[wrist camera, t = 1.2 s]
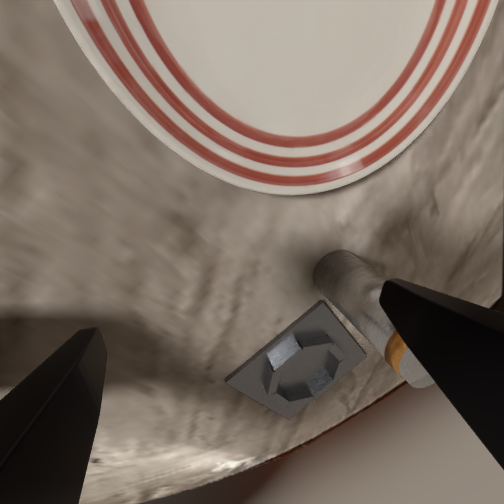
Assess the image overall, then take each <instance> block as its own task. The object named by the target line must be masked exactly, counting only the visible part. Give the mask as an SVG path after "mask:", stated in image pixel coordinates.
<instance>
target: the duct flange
mask: <svg viewBox="0 0 504 504" xmlns="http://www.w3.org/2000/svg"><path fill="white" fill-rule="evenodd" d="M366 357H367V356H366V355H365V353H364V352H363V351H362V350H361V348H360V347H359V346H358V345H357V343H356V342H355V341H354V340H353V339H352V337H351V336H350V335H349V334H348V332H347V331H346V330H345V329H344V327H343V326H342V325H341V324H340V322H339V321H338V320H337V319H336V318H335V316H334V315H333V314H332V313H331V311H330V310H329V309H328V308H327V306H326V305H325V304H324V303H323V302H322V301H321V300H320V301H319V302H318V303H316V304H315V305H314V306H313V307H312V308H310V309H309V310H308V311H307V312H305V313H304V314H303V315H302V316H301V317H299V318H298V319H297V320H296V321H295V322H293V323H292V324H291V325H290V326H289V327H287V328H286V329H285V330H284V331H283V332H281V333H280V334H279V335H278V336H276V337H275V338H274V339H273V340H272V341H270V342H269V343H268V344H267V345H266V346H264V347H263V348H262V349H261V350H260V351H258V352H257V353H256V354H255V355H253V356H252V357H251V358H250V359H249V360H247V361H246V362H245V363H244V364H243V365H241V366H240V367H239V368H238V369H237V370H235V371H234V372H233V373H232V374H231V375H229V376H228V377H227V378H226V379H225V383H226V384H228V385H230V386H231V387H233V388H235V389H236V390H238V391H240V392H242V393H243V394H245V395H247V396H248V397H250V398H252V399H254V400H255V401H257V402H259V403H260V404H262V405H264V406H266V407H267V408H269V409H271V410H272V411H274V412H276V413H278V414H279V415H281V416H283V417H284V418H286V419H288V420H289V419H290V418H292V417H293V416H294V415H295V414H297V413H298V412H299V411H300V410H302V409H303V408H304V407H305V406H307V405H308V404H309V403H310V402H313V400H316V399H317V398H319V397H320V396H321V395H322V394H324V393H325V392H326V391H327V390H329V389H330V388H331V387H332V386H333V385H335V384H336V383H337V381H339V379H340V378H342V377H343V376H344V375H345V374H346V373H348V372H349V371H350V370H351V369H353V368H354V367H355V366H356V365H358V364H359V363H360V362H361V361H363V360H364V359H365V358H366Z"/></svg>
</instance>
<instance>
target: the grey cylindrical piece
mask: <svg viewBox="0 0 504 504" xmlns="http://www.w3.org/2000/svg"><path fill="white" fill-rule="evenodd" d="M313 280H314V284H315V286H316V287H317V288H318V289H319V290H320V291H321V292H322V293H323V294H324V295H325V296H326V297H327V298H328V299H329V301H330V302H331V303H332V304H333V305H334V306H335V307H336V308H337V309H338V310H339V311H340V312H341V313H342V314H343V315H344V316H345V317H346V318H347V319H348V320H349V321H350V322H351V323H352V325H353V326H354V327H355V328H356V329H357V330H358V331H359V332H360V333H361V334H362V335H363V336H364V337H365V338H366V339H367V340H368V341H369V342H370V343H371V344H372V345H373V346H374V347H375V348H376V350H377V351H378V352H379V353H380V354H381V355H382V356H383V357H384V358H385V360H386V362H387V363H388V364H389V365H390V366H391V367H392V368H393V369H394V370H395V371H396V372H397V374H398V375H399V376H400V377H402V378H404V379H405V380H406V381H407V382H408V383H409V384H410V385H411V386H412V387H415V388H423V387H427V386H429V385H432V384H434V383H435V381H434V380H433V379H432V378H431V376H430V375H429V374H428V373H427V371H426V370H425V369H424V367H423V366H422V365H421V364H420V362H419V361H418V360H417V358H416V357H415V356H414V355H413V353H412V352H411V351H410V349H409V348H408V347H407V345H406V344H405V343H404V341H403V340H402V338H401V337H400V335H399V334H398V332H397V331H396V329H395V328H394V326H393V325H392V323H391V321H390V320H389V318H388V317H387V315H386V314H385V312H384V311H383V309H382V308H381V306H380V304H379V297H380V294H381V290H382V287H383V284H384V282H385V281H386V280H389V279H388V278H387V277H385V276H384V275H382V274H381V273H379V272H378V271H376V270H375V269H373V268H372V267H371V266H369V265H368V264H366V263H365V262H363V261H362V260H360V259H359V258H357V257H356V256H354V255H353V254H351V253H350V252H348V251H346V250H336V251H333V252H331V253H329V254H327V255H326V256H324V257H323V258H322V259H321V260H320V262H319V263H318V264H317V266H316V268H315V271H314V275H313Z"/></svg>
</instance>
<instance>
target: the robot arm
mask: <svg viewBox="0 0 504 504" xmlns="http://www.w3.org/2000/svg"><path fill="white" fill-rule="evenodd" d="M379 304H380V306H381V308H382V309H383V311H384V312H385V314H386V315H387V317H388V318H389V320H390V321H391V323H392V325H393V326H394V328H395V329H396V331H397V332H398V334H399V335H400V337H401V338H402V340H403V341H404V343H405V344H406V345H407V347H408V348H409V349H410V351H411V352H412V353H413V355H414V356H415V357H416V358H417V360H418V361H419V362H420V364H421V365H422V366H423V367H424V369H425V370H426V371H427V373H428V374H429V375H430V376H431V378H432V379H433V380H434V381H435V383H436V384H437V385H438V387H439V388H440V389H441V390H442V391H443V393H444V394H445V396H446V397H447V398H448V399H449V401H450V402H451V403H452V404H453V406H454V407H455V408H456V409H457V411H458V412H459V413H460V415H461V416H462V417H463V419H464V420H465V421H466V422H467V424H468V425H469V426H470V427H471V429H472V430H473V431H474V433H475V434H476V435H477V436H478V438H479V439H480V440H481V442H482V443H483V444H484V445H485V447H486V448H487V449H488V451H489V452H490V453H491V454H492V456H493V457H494V458H495V459H496V461H497V462H498V463H499V464H500V466H501V467H502V468H503V470H504V314H503V313H501V312H498V311H494V310H492V309H489V308H486V307H483V306H480V305H477V304H474V303H471V302H468V301H465V300H462V299H459V298H456V297H452V296H449V295H446V294H443V293H440V292H437V291H434V290H431V289H428V288H425V287H422V286H419V285H416V284H413V283H410V282H407V281H404V280H401V279H397V278H395V279H389V280H386V281H385V282H384V284H383V287H382V290H381V294H380V297H379ZM106 362H107V349H106V346H105V343H104V340H103V337H102V334H101V331H100V329H99V328H98V327H90V328H84V329H80V330H79V331H77V332H76V333H75V334H74V335H73V336H72V337H71V338H70V339H68V340H67V341H66V342H65V343H64V344H63V345H62V346H61V347H60V348H58V349H57V350H56V351H55V352H54V353H53V354H52V355H51V356H49V357H48V358H47V359H46V360H45V361H44V362H43V363H42V364H41V365H39V366H38V367H37V368H36V369H35V370H34V371H33V372H32V373H30V374H29V375H28V376H27V377H26V378H25V379H24V380H23V381H22V382H20V383H19V384H18V385H17V386H16V387H15V388H14V389H13V390H11V391H10V392H9V393H8V394H7V395H6V396H5V397H4V398H2V399H1V400H0V504H79V500H80V495H81V491H82V487H83V483H84V479H85V475H86V470H87V466H88V462H89V458H90V454H91V450H92V446H93V441H94V437H95V433H96V429H97V425H98V420H99V415H100V409H101V402H102V394H103V386H104V378H105V370H106Z"/></svg>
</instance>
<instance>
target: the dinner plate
mask: <svg viewBox="0 0 504 504" xmlns="http://www.w3.org/2000/svg"><path fill="white" fill-rule="evenodd" d="M53 1H54V3H55V5H56V7H57V8H58V10H59V12H60V14H61V16H62V18H63V19H64V21H65V23H66V24H67V26H68V28H69V29H70V31H71V33H72V34H73V36H74V38H75V40H76V41H77V43H78V44H79V46H80V47H81V49H82V50H83V52H84V54H85V55H86V57H87V58H88V60H89V61H90V62H91V64H92V65H93V67H94V68H95V69H96V71H97V72H98V74H99V75H100V76H101V78H102V79H103V80H104V82H105V83H106V84H107V85H108V87H109V88H110V89H111V91H112V92H113V93H114V94H115V95H116V97H117V98H118V99H119V100H120V101H121V102H122V104H123V105H124V106H125V107H126V108H127V109H128V110H129V111H130V113H131V114H132V115H133V116H134V117H135V118H136V119H137V120H138V121H139V122H140V123H141V124H142V125H143V126H144V127H145V128H146V129H148V130H149V131H150V132H151V133H152V134H153V135H154V136H155V137H157V138H158V139H159V140H160V141H161V142H162V143H163V144H165V145H166V146H167V147H169V148H170V149H171V150H172V151H174V152H175V153H176V154H178V155H179V156H181V157H182V158H183V159H185V160H186V161H188V162H189V163H191V164H193V165H194V166H196V167H198V168H199V169H201V170H202V171H204V172H206V173H208V174H210V175H212V176H214V177H216V178H218V179H220V180H222V181H225V182H227V183H230V184H233V185H235V186H238V187H241V188H244V189H248V190H251V191H255V192H260V193H265V194H272V195H291V196H296V195H305V194H314V193H320V192H325V191H329V190H332V189H336V188H339V187H342V186H344V185H347V184H350V183H352V182H354V181H357V180H359V179H361V178H363V177H365V176H367V175H369V174H371V173H372V172H374V171H376V170H377V169H379V168H381V167H382V166H383V165H385V164H386V163H388V162H389V161H390V160H392V159H393V158H394V157H396V156H397V155H398V154H400V153H401V152H402V151H403V150H404V149H405V148H406V147H408V146H409V145H410V144H411V143H412V142H413V141H414V140H415V139H416V138H417V137H418V136H419V135H420V134H421V133H422V132H423V131H424V130H425V128H426V127H427V126H428V125H429V124H430V123H431V122H432V121H433V119H434V118H435V117H436V115H437V114H438V113H439V112H440V110H441V109H442V108H443V107H444V105H445V104H446V103H447V101H448V100H449V98H450V97H451V95H452V94H453V92H454V91H455V89H456V88H457V86H458V85H459V83H460V81H461V80H462V78H463V76H464V75H465V73H466V71H467V70H468V68H469V66H470V64H471V62H472V60H473V58H474V56H475V54H476V52H477V50H478V48H479V46H480V44H481V42H482V40H483V37H484V35H485V33H486V31H487V29H488V26H489V24H490V22H491V20H492V17H493V14H494V12H495V9H496V6H497V4H498V1H499V0H53Z"/></svg>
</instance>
